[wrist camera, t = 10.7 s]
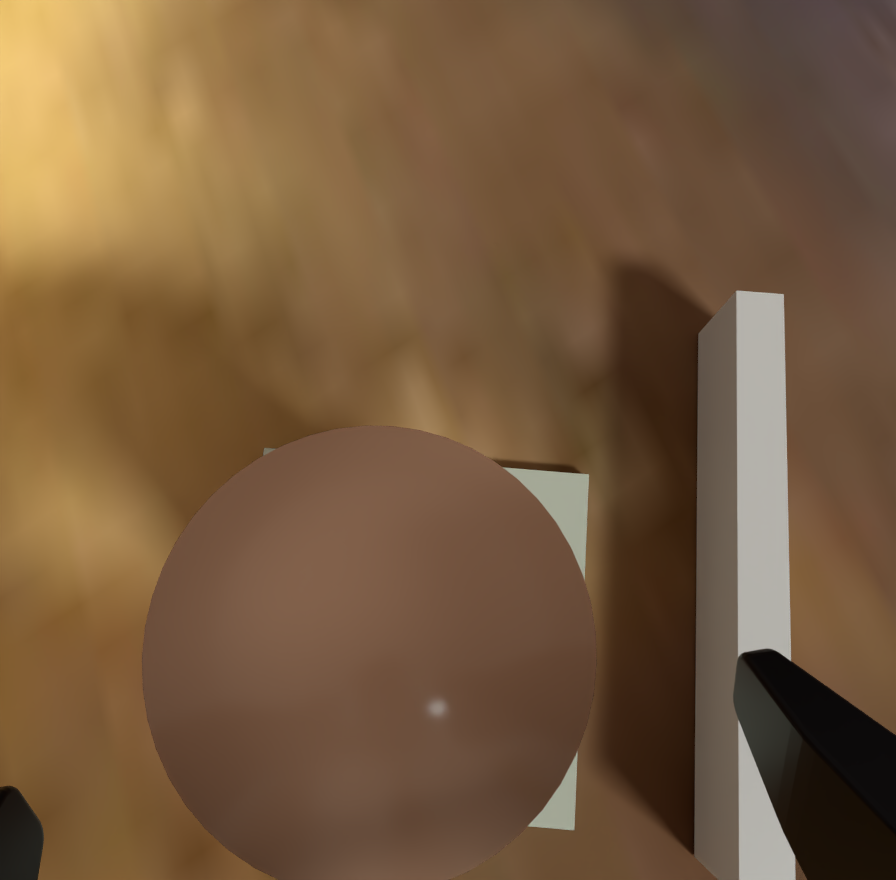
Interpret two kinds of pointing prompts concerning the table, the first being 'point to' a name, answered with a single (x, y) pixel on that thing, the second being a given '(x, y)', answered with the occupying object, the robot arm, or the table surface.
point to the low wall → (739, 576)
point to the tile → (569, 510)
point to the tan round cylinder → (369, 658)
